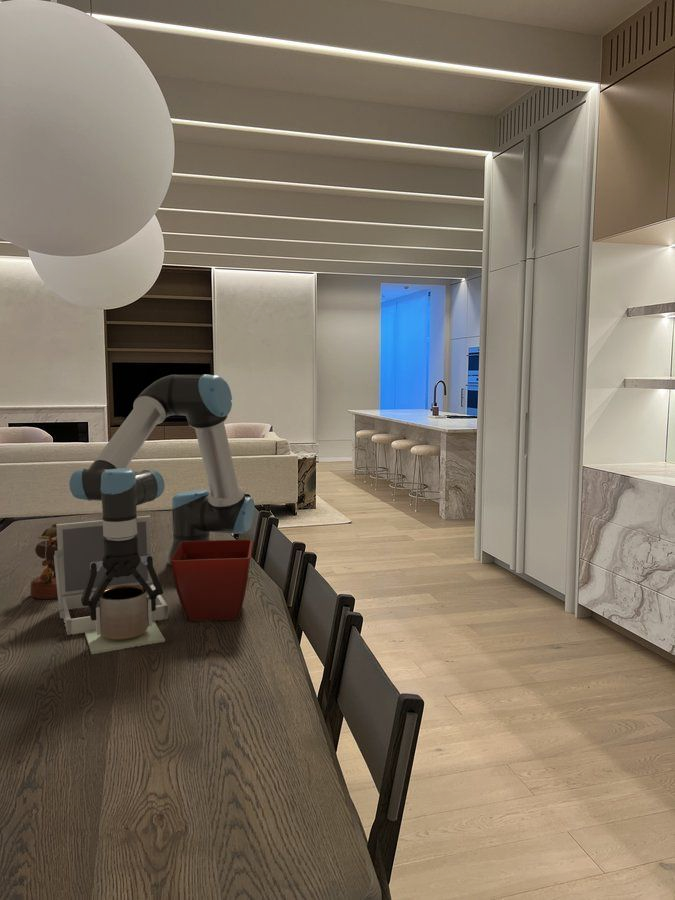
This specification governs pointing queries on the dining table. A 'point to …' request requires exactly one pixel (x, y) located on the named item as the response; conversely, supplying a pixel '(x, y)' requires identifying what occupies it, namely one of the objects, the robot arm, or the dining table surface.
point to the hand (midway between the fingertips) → (124, 628)
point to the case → (73, 570)
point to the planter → (123, 612)
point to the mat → (104, 645)
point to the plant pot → (211, 578)
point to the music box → (47, 581)
